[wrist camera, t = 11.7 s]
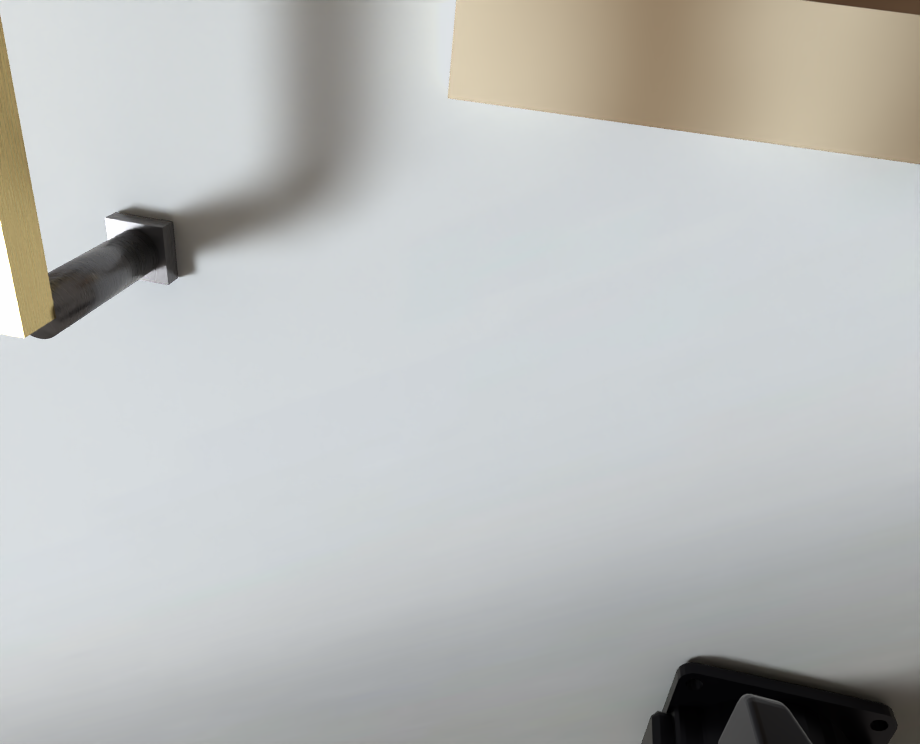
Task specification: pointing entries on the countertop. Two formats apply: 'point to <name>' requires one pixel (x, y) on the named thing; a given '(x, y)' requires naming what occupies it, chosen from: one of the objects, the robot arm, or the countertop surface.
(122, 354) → the countertop surface
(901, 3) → the walnut block
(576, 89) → the birch pad
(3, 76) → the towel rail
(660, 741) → the robot arm
